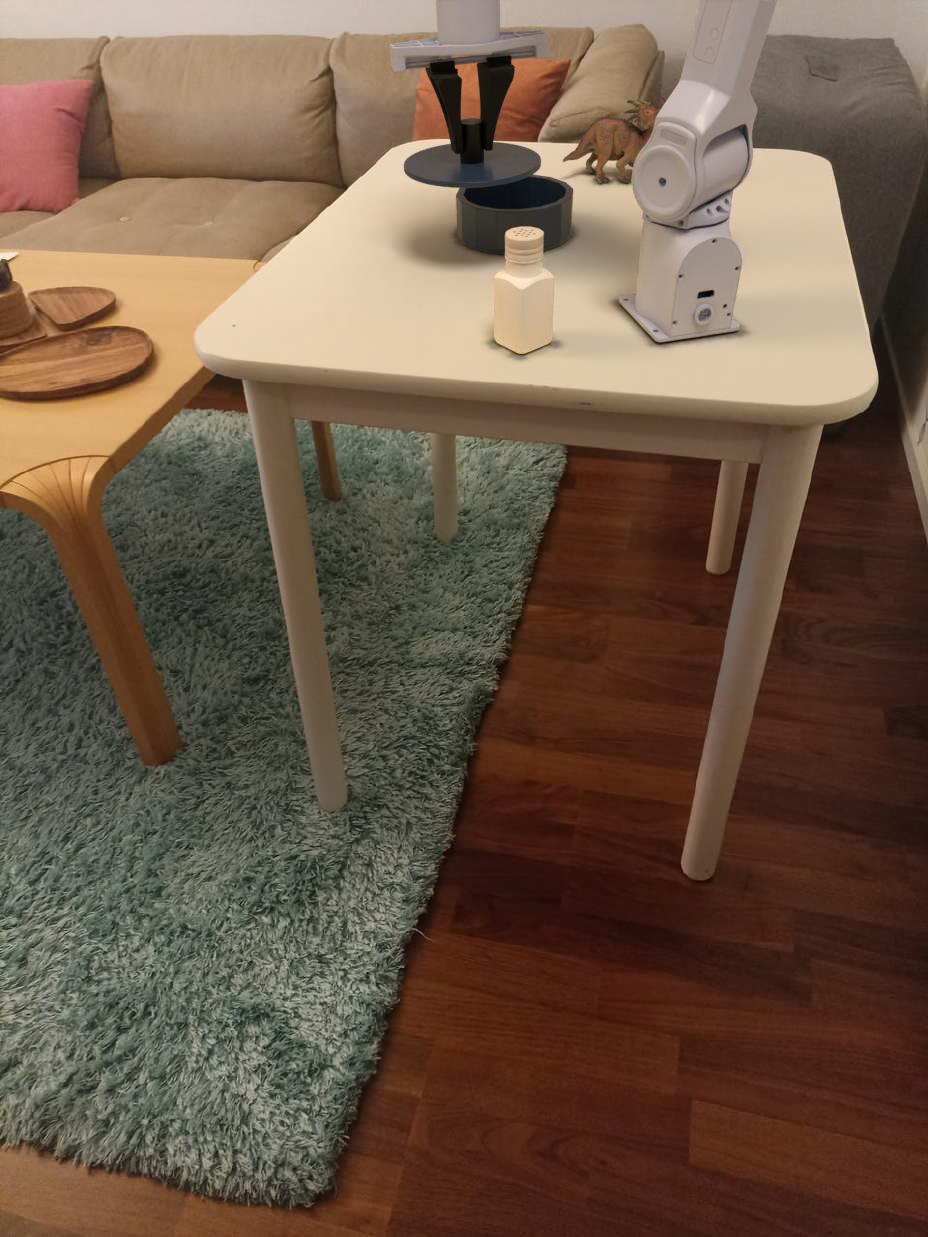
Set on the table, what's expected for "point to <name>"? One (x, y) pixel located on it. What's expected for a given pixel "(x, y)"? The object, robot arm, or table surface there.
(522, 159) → the lid
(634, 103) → the dinosaur figurine
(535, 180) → the pot
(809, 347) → the table surface
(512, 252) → the salt shaker
